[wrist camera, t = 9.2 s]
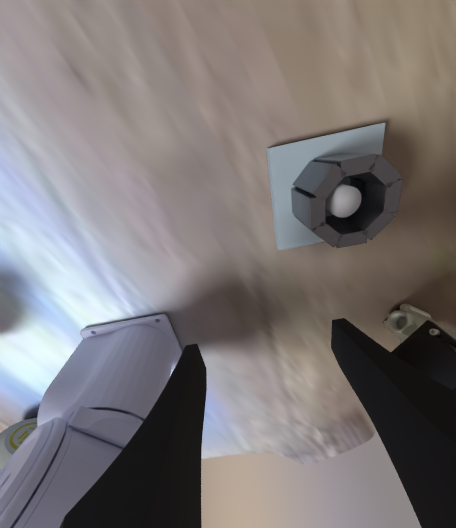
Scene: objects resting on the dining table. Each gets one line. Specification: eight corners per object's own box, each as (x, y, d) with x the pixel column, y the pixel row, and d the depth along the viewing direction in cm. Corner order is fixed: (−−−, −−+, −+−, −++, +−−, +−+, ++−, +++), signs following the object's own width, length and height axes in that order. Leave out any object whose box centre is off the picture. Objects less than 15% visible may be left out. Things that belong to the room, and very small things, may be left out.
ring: (293, 233, 18) (311, 253, 15) (289, 163, 16) (309, 167, 12) (358, 220, 18) (393, 237, 14) (364, 147, 16) (408, 146, 12)
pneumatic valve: (378, 283, 22) (525, 405, 12) (456, 318, 25) (634, 444, 14) (344, 321, 24) (440, 454, 14) (418, 350, 27) (548, 479, 16)
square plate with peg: (276, 246, 20) (288, 266, 16) (266, 148, 16) (279, 147, 13) (365, 228, 19) (398, 246, 16) (376, 124, 16) (421, 116, 12)
